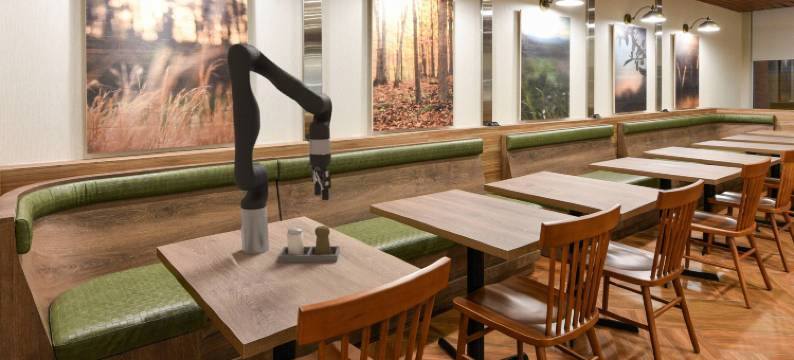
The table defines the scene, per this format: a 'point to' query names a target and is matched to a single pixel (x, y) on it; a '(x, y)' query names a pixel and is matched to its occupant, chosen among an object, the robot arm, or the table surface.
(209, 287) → the table surface
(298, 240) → the salt shaker
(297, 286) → the table surface
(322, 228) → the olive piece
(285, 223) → the table surface
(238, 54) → the robot arm
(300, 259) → the caddy
